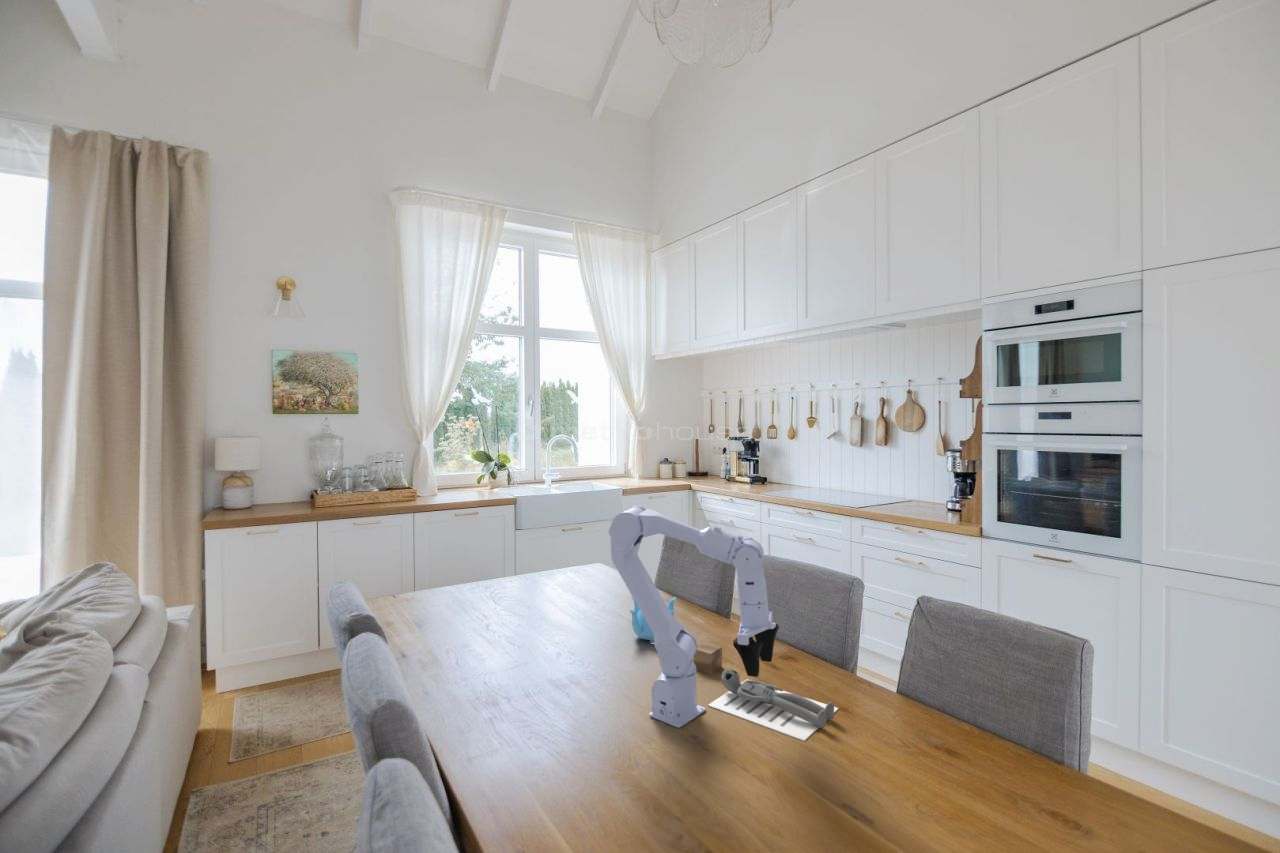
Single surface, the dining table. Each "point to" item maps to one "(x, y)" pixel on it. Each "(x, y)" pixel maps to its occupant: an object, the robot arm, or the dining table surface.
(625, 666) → the dining table surface
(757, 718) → the white card
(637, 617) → the teapot
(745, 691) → the alien figure
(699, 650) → the walnut cube
